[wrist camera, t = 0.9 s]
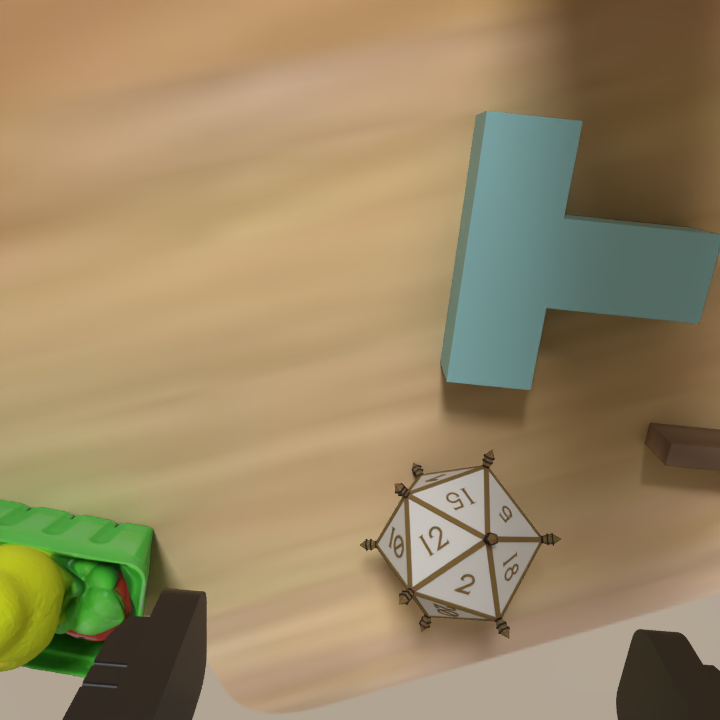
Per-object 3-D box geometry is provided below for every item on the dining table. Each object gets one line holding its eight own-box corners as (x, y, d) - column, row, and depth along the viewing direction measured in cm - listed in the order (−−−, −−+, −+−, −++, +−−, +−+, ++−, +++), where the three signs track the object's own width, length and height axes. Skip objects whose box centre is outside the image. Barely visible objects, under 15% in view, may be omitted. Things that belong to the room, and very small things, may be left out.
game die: (469, 482, 39) (562, 638, 33) (340, 528, 37) (414, 705, 31) (496, 388, 33) (619, 561, 26) (340, 437, 30) (435, 639, 24)
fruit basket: (-26, 587, 38) (-184, 759, 27) (-26, 455, 35) (-201, 588, 24) (164, 620, 38) (83, 801, 28) (179, 492, 36) (96, 638, 25)
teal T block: (476, 115, 29) (487, 110, 26) (713, 139, 29) (749, 138, 26) (440, 362, 33) (446, 381, 30) (650, 383, 33) (676, 405, 30)
